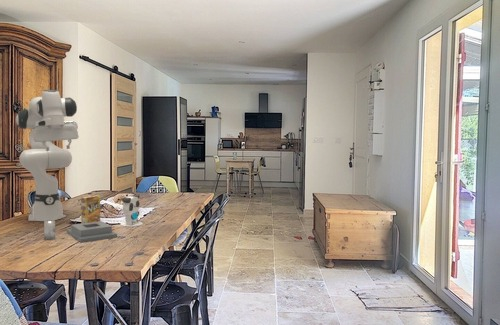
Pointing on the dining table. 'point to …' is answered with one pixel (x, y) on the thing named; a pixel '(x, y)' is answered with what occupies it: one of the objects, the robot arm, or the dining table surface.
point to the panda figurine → (131, 211)
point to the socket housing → (91, 231)
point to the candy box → (90, 209)
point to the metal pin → (49, 229)
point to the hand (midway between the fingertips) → (58, 149)
